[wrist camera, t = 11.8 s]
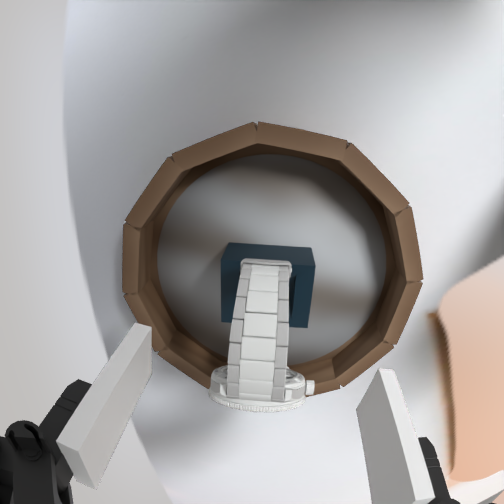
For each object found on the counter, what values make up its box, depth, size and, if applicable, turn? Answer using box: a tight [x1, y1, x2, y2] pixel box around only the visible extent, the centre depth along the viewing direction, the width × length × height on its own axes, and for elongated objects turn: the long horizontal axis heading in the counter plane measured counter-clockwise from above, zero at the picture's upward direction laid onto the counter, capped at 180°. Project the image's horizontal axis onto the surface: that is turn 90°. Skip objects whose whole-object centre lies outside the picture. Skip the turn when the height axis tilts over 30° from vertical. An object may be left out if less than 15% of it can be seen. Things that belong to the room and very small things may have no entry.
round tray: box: [122, 122, 423, 397], centre depth 22 cm, size 20×20×4 cm
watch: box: [209, 242, 316, 412], centre depth 17 cm, size 6×8×11 cm
